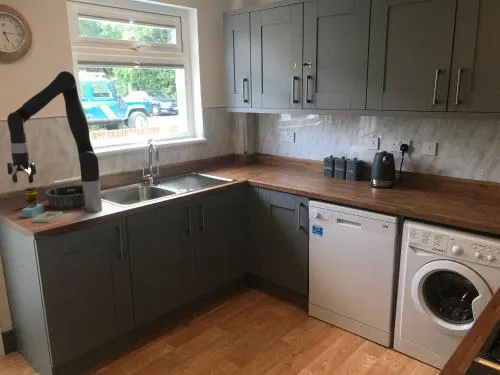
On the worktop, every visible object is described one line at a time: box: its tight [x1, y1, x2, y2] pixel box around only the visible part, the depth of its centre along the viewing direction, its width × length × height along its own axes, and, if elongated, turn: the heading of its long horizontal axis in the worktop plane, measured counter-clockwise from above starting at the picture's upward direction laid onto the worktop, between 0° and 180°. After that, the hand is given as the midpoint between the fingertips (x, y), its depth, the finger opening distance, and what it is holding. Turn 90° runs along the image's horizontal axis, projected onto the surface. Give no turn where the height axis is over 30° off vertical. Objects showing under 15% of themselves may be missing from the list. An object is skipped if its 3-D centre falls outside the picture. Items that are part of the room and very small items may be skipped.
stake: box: [28, 204, 45, 217], centre depth 222 cm, size 8×8×6 cm
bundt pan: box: [45, 184, 84, 211], centre depth 240 cm, size 26×26×10 cm
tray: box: [31, 211, 64, 223], centre depth 214 cm, size 14×9×2 cm, turn 176°
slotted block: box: [21, 203, 45, 218], centre depth 222 cm, size 11×6×4 cm, turn 176°
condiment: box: [24, 186, 40, 207], centre depth 238 cm, size 7×8×12 cm
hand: (23, 182), depth 216 cm, fingers open, 8 cm apart
